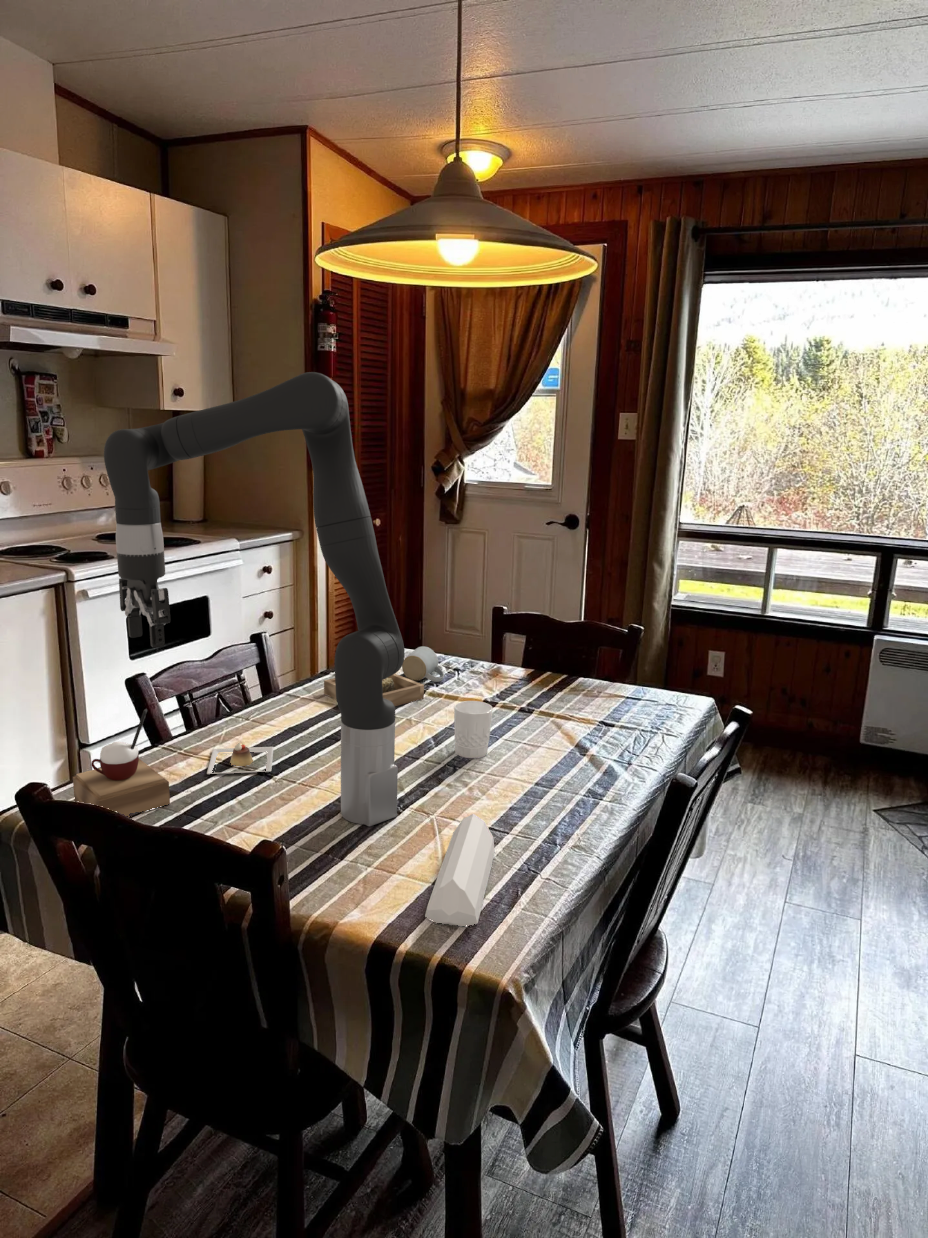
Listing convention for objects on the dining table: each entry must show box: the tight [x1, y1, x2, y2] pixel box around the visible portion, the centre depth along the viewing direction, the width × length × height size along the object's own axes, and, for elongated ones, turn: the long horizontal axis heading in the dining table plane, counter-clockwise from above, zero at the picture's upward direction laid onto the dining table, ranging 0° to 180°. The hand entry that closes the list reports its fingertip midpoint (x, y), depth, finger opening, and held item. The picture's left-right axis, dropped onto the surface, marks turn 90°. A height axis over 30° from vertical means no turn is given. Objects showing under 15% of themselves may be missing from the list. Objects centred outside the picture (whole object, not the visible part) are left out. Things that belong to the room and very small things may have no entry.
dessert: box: [206, 740, 274, 775], centre depth 166 cm, size 12×12×5 cm
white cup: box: [453, 700, 493, 759], centre depth 174 cm, size 8×8×10 cm
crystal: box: [424, 813, 495, 927], centre depth 125 cm, size 7×7×24 cm
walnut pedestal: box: [72, 758, 171, 818], centre depth 147 cm, size 12×12×5 cm
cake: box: [382, 678, 396, 693], centre depth 209 cm, size 10×10×5 cm
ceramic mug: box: [401, 646, 445, 683], centre depth 221 cm, size 11×8×8 cm
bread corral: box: [323, 673, 425, 707], centre depth 206 cm, size 17×17×4 cm
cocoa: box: [90, 708, 148, 781], centre depth 145 cm, size 10×6×12 cm, turn 79°
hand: (146, 641), depth 146 cm, fingers open, 8 cm apart
